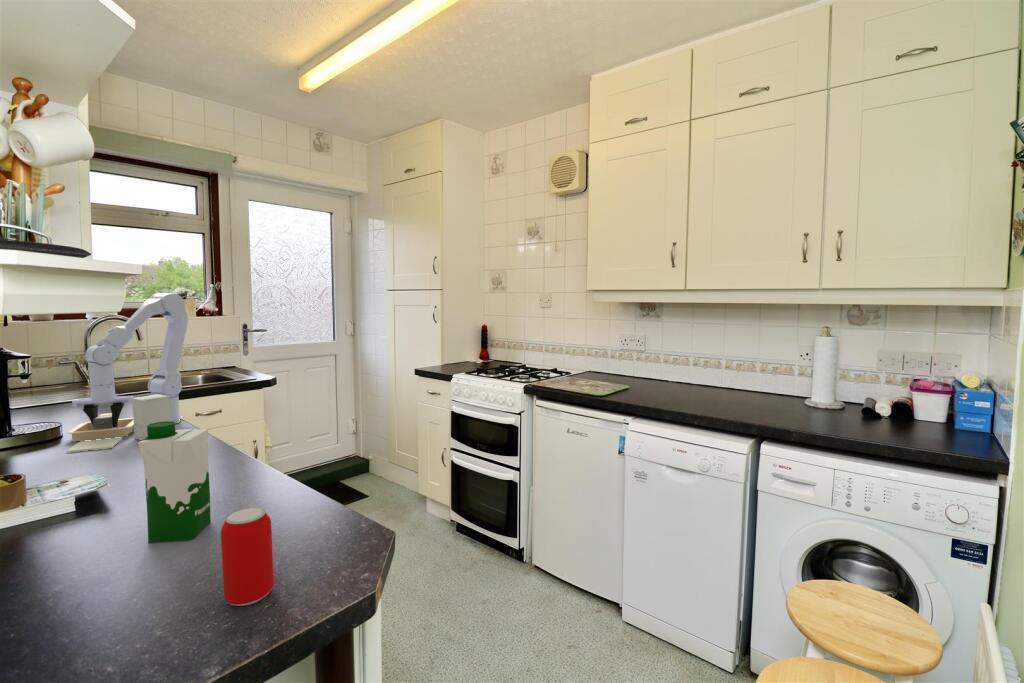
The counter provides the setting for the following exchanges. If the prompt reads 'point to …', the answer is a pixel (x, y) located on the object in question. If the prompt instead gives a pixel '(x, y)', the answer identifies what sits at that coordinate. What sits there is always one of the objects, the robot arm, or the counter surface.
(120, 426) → the wooden tray
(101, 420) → the block
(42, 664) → the counter surface
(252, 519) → the beverage can
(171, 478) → the milk carton
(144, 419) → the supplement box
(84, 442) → the tile
